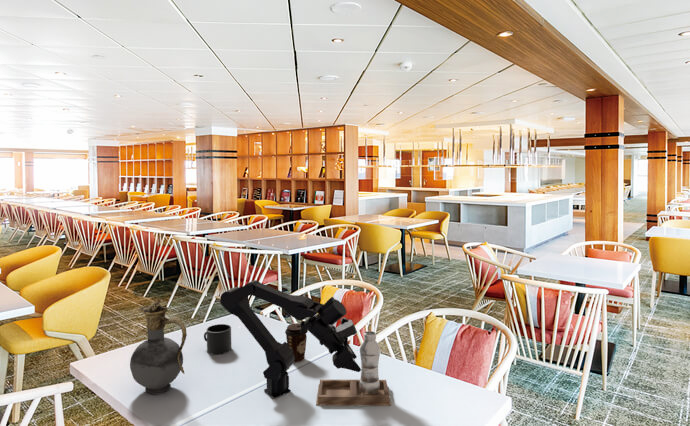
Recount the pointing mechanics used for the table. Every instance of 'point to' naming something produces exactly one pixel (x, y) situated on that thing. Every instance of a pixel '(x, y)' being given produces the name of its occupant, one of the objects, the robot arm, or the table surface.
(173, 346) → the pitcher
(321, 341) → the robot arm
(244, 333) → the table surface
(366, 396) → the wooden divided tray
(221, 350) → the mug
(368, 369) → the silver metal bottle
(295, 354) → the coffee cup
